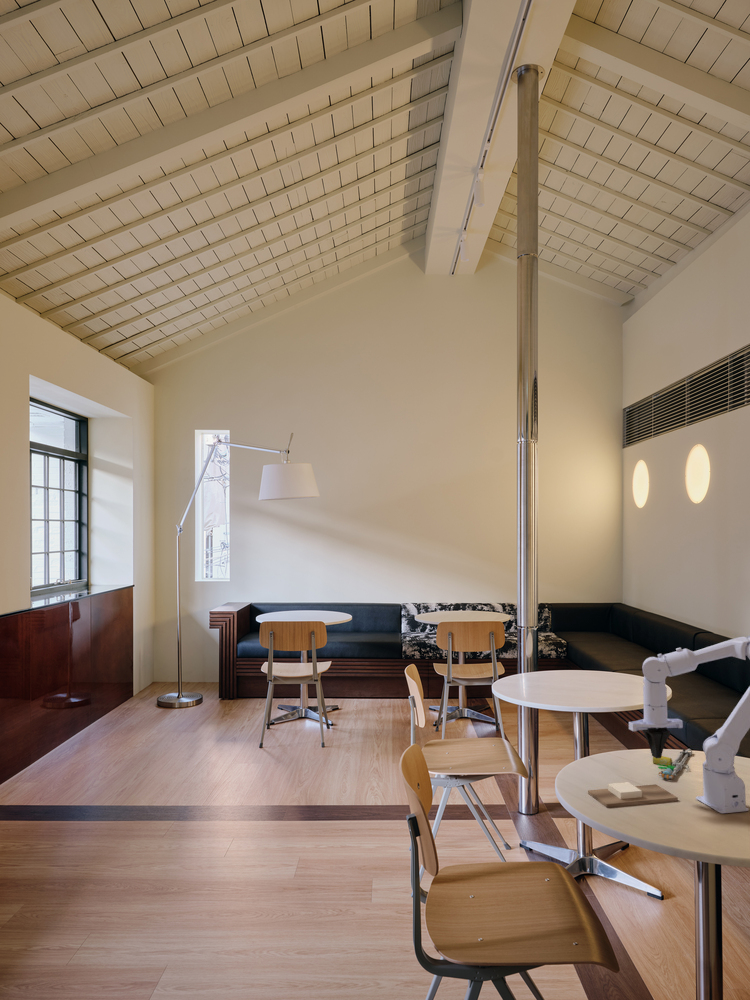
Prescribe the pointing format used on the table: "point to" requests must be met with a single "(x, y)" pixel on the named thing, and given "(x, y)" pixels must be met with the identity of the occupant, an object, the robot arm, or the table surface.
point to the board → (648, 796)
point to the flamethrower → (668, 763)
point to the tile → (624, 790)
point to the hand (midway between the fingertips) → (656, 756)
